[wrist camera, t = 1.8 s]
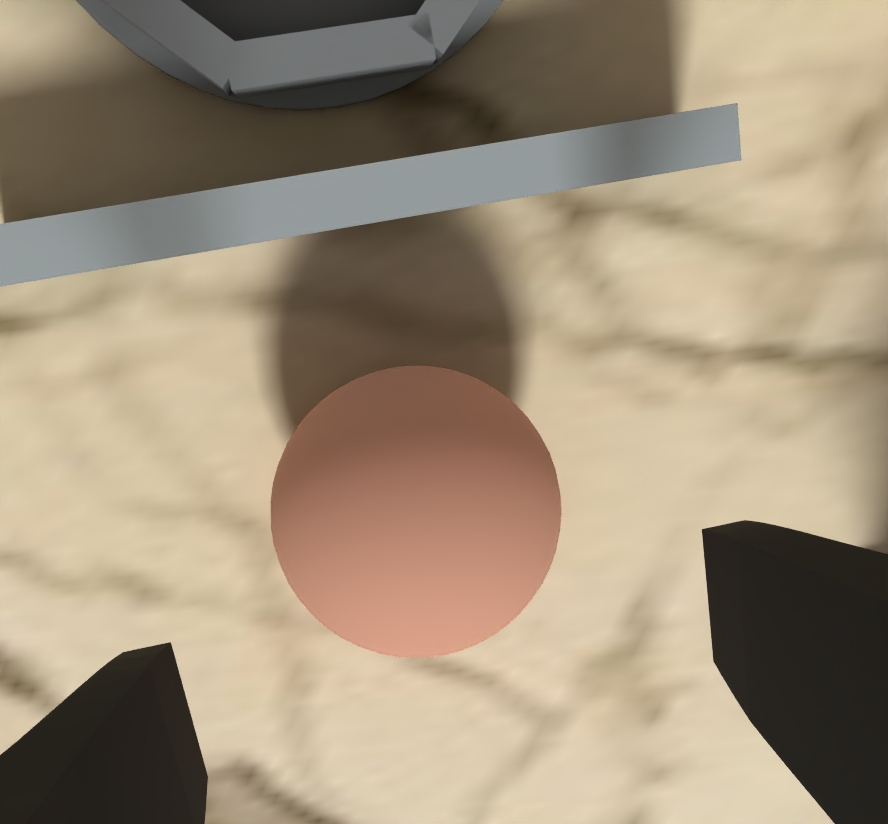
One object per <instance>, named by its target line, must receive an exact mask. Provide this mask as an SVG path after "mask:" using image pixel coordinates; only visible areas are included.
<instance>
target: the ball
mask: <svg viewBox="0 0 888 824" xmlns="http://www.w3.org/2000/svg"><path fill="white" fill-rule="evenodd" d="M560 523H561V498H560V490H559V485H558V480H557V475H556V471H555V467H554V464H553V462H552V459H551V456H550V453H549V451H548V449H547V447H546V445H545V443H544V442H543V440H542V438H541V436H540V434H539V433H538V431H537V430H536V429H535V427H534V426H533V424H532V423H531V421H530V420H529V419H528V417H527V416H526V415H525V414H524V413H523V412H522V411H521V410H520V409H519V408H518V407H517V406H516V405H515V404H514V403H513V402H512V401H511V400H509V399H508V398H507V397H506V396H504V395H503V394H502V393H501V392H499V391H498V390H496V389H495V388H493V387H491V386H490V385H488V384H486V383H484V382H483V381H481V380H479V379H477V378H474V377H472V376H470V375H467V374H465V373H462V372H458V371H455V370H451V369H447V368H441V367H434V366H413V365H409V366H400V367H392V368H387V369H383V370H379V371H375V372H371V373H369V374H366V375H364V376H361V377H359V378H356V379H354V380H352V381H350V382H348V383H347V384H345V385H343V386H341V387H339V388H338V389H336V390H335V391H333V392H332V393H331V394H329V395H328V396H327V397H325V398H324V399H323V400H321V401H320V402H319V403H318V404H317V405H316V406H315V407H314V408H313V409H312V410H311V411H310V412H309V413H308V414H307V415H306V417H305V418H304V419H303V420H302V422H301V423H300V424H299V425H298V427H297V428H296V430H295V431H294V433H293V435H292V436H291V438H290V440H289V442H288V443H287V445H286V448H285V450H284V452H283V455H282V457H281V459H280V462H279V464H278V467H277V471H276V474H275V478H274V482H273V488H272V496H271V530H272V536H273V542H274V547H275V550H276V553H277V556H278V560H279V563H280V565H281V568H282V570H283V572H284V574H285V576H286V578H287V581H288V583H289V585H290V586H291V588H292V589H293V591H294V592H295V594H296V595H297V597H298V599H299V600H300V601H301V602H302V603H303V604H304V606H305V607H306V608H307V609H308V610H309V611H310V612H311V614H312V615H313V616H314V617H315V618H316V619H318V620H319V621H320V622H321V623H322V624H323V625H324V626H326V627H327V628H328V629H329V630H331V631H332V632H334V633H335V634H337V635H338V636H340V637H341V638H343V639H345V640H347V641H349V642H351V643H353V644H355V645H357V646H360V647H362V648H365V649H368V650H371V651H374V652H377V653H380V654H385V655H390V656H395V657H407V658H424V657H434V656H441V655H447V654H450V653H454V652H457V651H461V650H464V649H466V648H469V647H471V646H474V645H476V644H478V643H480V642H482V641H484V640H486V639H487V638H489V637H491V636H493V635H494V634H496V633H497V632H498V631H500V630H501V629H503V628H504V627H505V626H507V625H508V624H509V623H510V622H511V621H512V620H513V619H514V618H515V617H517V616H518V615H519V614H520V613H521V611H522V610H523V609H524V608H525V607H526V606H527V604H528V603H529V602H530V601H531V599H532V598H533V596H534V595H535V593H536V592H537V590H538V589H539V587H540V586H541V584H542V583H543V581H544V579H545V577H546V575H547V573H548V571H549V569H550V566H551V563H552V560H553V558H554V555H555V552H556V547H557V542H558V537H559V532H560Z"/></svg>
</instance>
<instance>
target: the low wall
mask: <svg viewBox="0 0 888 824" xmlns="http://www.w3.org/2000/svg"><path fill="white" fill-rule="evenodd" d="M739 160H741V149H740V134H739V119H738V104H737V103H735V104H729V105H723V106H717V107H711V108H705V109H699V110H692V111H686V112H680V113H674V114H668V115H662V116H656V117H650V118H644V119H638V120H631V121H625V122H619V123H613V124H607V125H601V126H595V127H589V128H583V129H577V130H570V131H564V132H558V133H552V134H546V135H540V136H534V137H528V138H522V139H516V140H509V141H503V142H497V143H491V144H485V145H479V146H473V147H467V148H461V149H455V150H448V151H442V152H436V153H430V154H424V155H418V156H412V157H406V158H400V159H394V160H388V161H381V162H375V163H369V164H363V165H357V166H351V167H345V168H339V169H333V170H327V171H320V172H314V173H308V174H302V175H296V176H290V177H284V178H278V179H272V180H266V181H259V182H253V183H247V184H241V185H235V186H229V187H223V188H217V189H211V190H205V191H198V192H192V193H186V194H180V195H174V196H168V197H162V198H156V199H150V200H144V201H137V202H131V203H125V204H119V205H113V206H107V207H101V208H95V209H89V210H83V211H76V212H70V213H64V214H58V215H52V216H46V217H40V218H34V219H28V220H22V221H15V222H9V223H3V224H0V286H6V285H12V284H18V283H24V282H30V281H35V280H41V279H47V278H53V277H59V276H65V275H71V274H77V273H82V272H88V271H94V270H100V269H106V268H112V267H118V266H123V265H129V264H135V263H141V262H147V261H153V260H159V259H165V258H170V257H176V256H182V255H188V254H194V253H200V252H206V251H211V250H217V249H223V248H229V247H235V246H241V245H247V244H252V243H258V242H264V241H270V240H276V239H282V238H288V237H294V236H299V235H305V234H311V233H317V232H323V231H329V230H335V229H340V228H346V227H352V226H358V225H364V224H370V223H376V222H382V221H387V220H393V219H399V218H405V217H411V216H417V215H423V214H428V213H434V212H440V211H446V210H452V209H458V208H464V207H470V206H475V205H481V204H487V203H493V202H499V201H505V200H511V199H516V198H522V197H528V196H534V195H540V194H546V193H552V192H557V191H563V190H569V189H575V188H581V187H587V186H593V185H599V184H604V183H610V182H616V181H622V180H628V179H634V178H640V177H645V176H651V175H657V174H663V173H669V172H675V171H681V170H687V169H692V168H698V167H704V166H710V165H716V164H722V163H728V162H733V161H739Z"/></svg>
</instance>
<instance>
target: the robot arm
mask: <svg viewBox="0 0 888 824" xmlns="http://www.w3.org/2000/svg"><path fill="white" fill-rule="evenodd" d="M702 535H703V547H704V558H705V569H706V581H707V592H708V603H709V615H710V626H711V637H712V649H713V660H714V663H715V665H716V666H717V668H718V670H719V671H720V673H721V675H722V676H723V678H724V680H725V681H726V683H727V685H728V687H729V688H730V690H731V692H732V693H733V695H734V696H735V698H736V700H737V701H738V703H739V704H740V706H741V707H742V709H743V711H744V712H745V714H746V715H747V717H748V718H749V720H750V721H751V723H752V724H753V725H754V726H755V728H756V729H757V730H758V731H759V733H760V734H761V735H762V736H763V738H764V739H765V740H766V741H767V743H768V744H769V745H770V746H771V747H772V749H773V750H774V751H775V752H776V754H777V755H778V756H779V757H780V758H781V760H782V761H783V762H784V763H785V765H786V766H787V767H788V768H789V769H790V771H791V772H792V773H793V774H794V775H795V777H796V778H797V779H798V780H799V781H800V783H801V784H802V785H803V786H804V787H805V789H806V790H807V791H808V792H809V793H810V795H811V796H812V797H813V798H814V799H815V800H816V802H817V803H818V804H819V805H820V806H821V808H822V809H823V810H824V811H825V812H826V814H827V815H828V816H829V817H830V818H831V820H832V821H833V822H834V823H835V824H888V554H884V553H880V552H876V551H872V550H869V549H865V548H861V547H857V546H853V545H850V544H846V543H842V542H838V541H835V540H831V539H827V538H823V537H820V536H816V535H812V534H808V533H804V532H801V531H797V530H793V529H789V528H784V527H780V526H776V525H771V524H766V523H761V522H754V521H746V520H744V521H739V522H734V523H730V524H725V525H720V526H716V527H711V528H706V529H702ZM207 781H208V776H207V772H206V768H205V765H204V761H203V757H202V754H201V750H200V747H199V743H198V739H197V736H196V732H195V728H194V725H193V721H192V718H191V714H190V710H189V707H188V703H187V700H186V696H185V692H184V689H183V685H182V681H181V678H180V674H179V671H178V667H177V663H176V660H175V656H174V652H173V649H172V645H171V642H170V643H165V644H160V645H155V646H151V647H146V648H141V649H137V650H132V651H127V652H123V653H121V654H120V655H118V656H117V657H115V658H114V659H112V660H111V661H110V662H108V663H107V664H106V665H105V666H103V667H102V668H101V669H100V670H99V671H97V672H96V673H95V674H94V675H93V676H91V677H90V678H89V679H88V680H87V681H86V682H84V683H83V684H82V685H81V686H80V687H79V688H78V689H76V690H75V691H74V692H73V693H72V694H71V695H70V696H69V697H67V698H66V699H65V700H64V701H63V702H62V703H61V704H59V705H58V706H57V707H56V708H55V709H54V710H53V711H51V712H50V713H49V714H48V715H47V716H46V717H45V718H43V719H42V720H41V721H40V722H39V723H38V724H37V725H35V726H34V727H33V728H32V729H31V730H30V731H28V732H27V733H26V734H25V735H24V736H23V737H22V738H20V739H19V740H18V741H17V742H16V743H15V744H13V745H12V746H11V747H10V748H8V749H7V750H6V751H5V752H3V753H2V754H1V755H0V824H204V823H205V810H206V796H207Z"/></svg>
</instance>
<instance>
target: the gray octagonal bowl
mask: <svg viewBox="0 0 888 824" xmlns="http://www.w3.org/2000/svg"><path fill="white" fill-rule="evenodd" d="M76 1H77V2H78V3H79V4H80V5H81V6H82V7H83V8H84V9H85V10H86V11H87V12H88V13H89V14H90V15H91V16H92V17H93V18H94V19H95V20H96V21H97V22H98V23H99V24H100V25H101V26H102V27H103V28H104V29H106V30H107V31H108V32H109V33H110V34H112V35H113V36H114V37H115V38H117V39H118V40H119V41H120V42H121V43H123V44H124V45H125V46H126V47H128V48H129V49H130V50H131V51H132V52H134V53H135V54H136V55H138V56H139V57H141V58H143V59H144V60H146V61H147V62H149V63H150V64H152V65H154V66H155V67H157V68H158V69H160V70H161V71H163V72H165V73H166V74H168V75H170V76H172V77H174V78H176V79H178V80H180V81H182V82H184V83H187V84H189V85H191V86H193V87H195V88H197V89H199V90H201V91H204V92H207V93H210V94H213V95H216V96H220V97H223V98H226V99H229V100H232V101H235V102H239V103H245V104H250V105H256V106H261V107H266V108H275V109H295V110H310V109H321V108H333V107H340V106H345V105H349V104H354V103H358V102H362V101H367V100H371V99H373V98H376V97H379V96H381V95H384V94H386V93H389V92H392V91H394V90H397V89H400V88H402V87H404V86H406V85H407V84H409V83H411V82H413V81H415V80H416V79H418V78H420V77H422V76H424V75H425V74H427V73H429V72H431V71H432V70H433V69H435V68H436V67H437V66H439V65H440V64H441V63H443V62H444V61H446V60H447V59H448V58H450V57H451V56H452V55H454V54H455V53H456V52H458V51H459V50H460V49H461V48H462V47H463V46H464V45H465V44H466V43H467V42H468V41H469V40H470V39H471V38H472V37H473V36H474V35H475V34H476V33H477V32H478V31H479V30H480V29H481V28H482V27H483V26H484V24H485V23H486V22H487V21H488V19H489V18H490V17H491V15H492V14H493V13H494V12H495V10H496V9H497V8H498V6H499V5H500V4H501V3H502V1H503V0H76Z"/></svg>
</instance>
